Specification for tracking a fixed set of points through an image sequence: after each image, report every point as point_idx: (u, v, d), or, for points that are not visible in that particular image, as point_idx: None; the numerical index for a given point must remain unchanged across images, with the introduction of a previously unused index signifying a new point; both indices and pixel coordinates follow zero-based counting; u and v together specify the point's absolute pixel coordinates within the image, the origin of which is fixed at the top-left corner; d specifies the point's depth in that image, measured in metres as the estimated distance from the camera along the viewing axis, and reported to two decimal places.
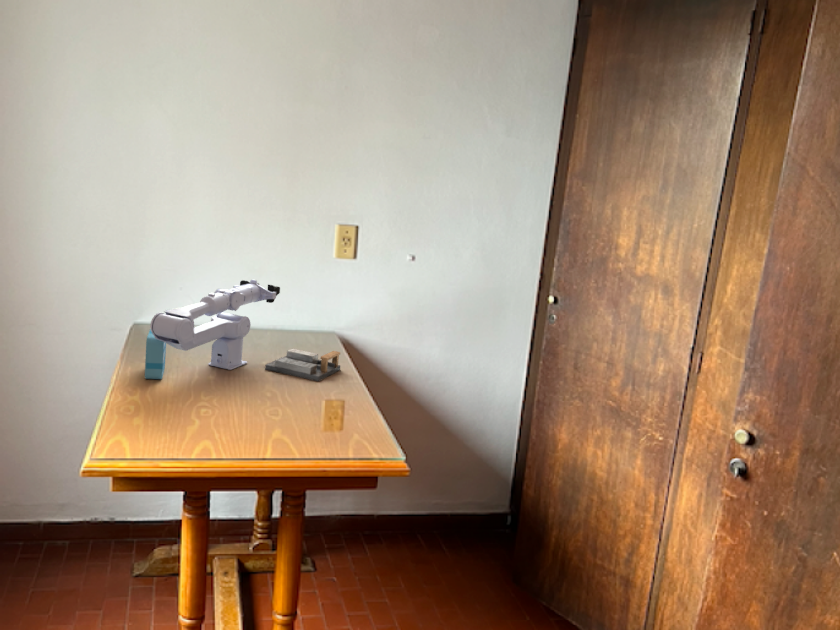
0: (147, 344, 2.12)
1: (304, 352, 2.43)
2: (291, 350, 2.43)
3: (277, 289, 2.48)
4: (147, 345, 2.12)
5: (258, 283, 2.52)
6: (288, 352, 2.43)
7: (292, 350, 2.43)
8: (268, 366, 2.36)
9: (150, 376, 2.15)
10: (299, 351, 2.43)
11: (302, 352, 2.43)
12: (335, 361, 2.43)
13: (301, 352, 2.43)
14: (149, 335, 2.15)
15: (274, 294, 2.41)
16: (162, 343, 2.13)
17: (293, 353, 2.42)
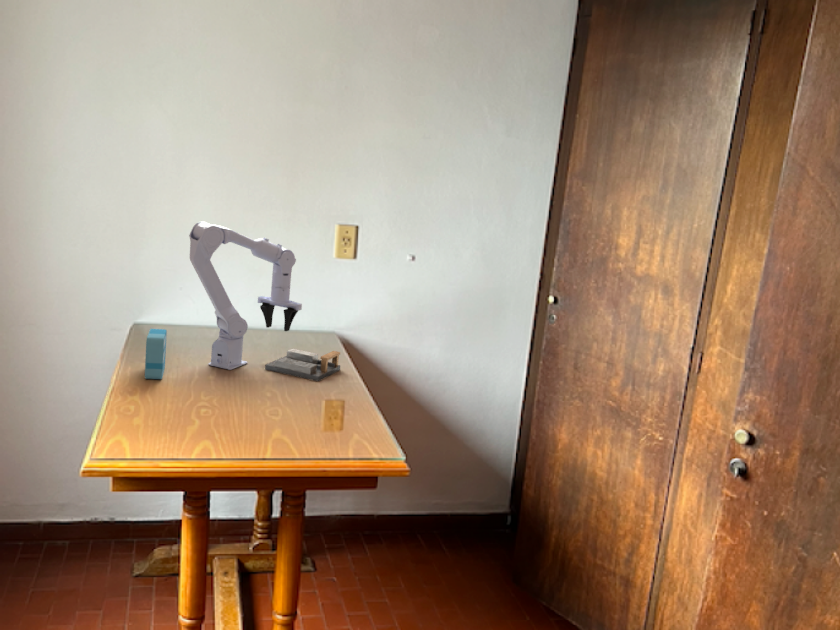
0: (147, 344, 2.12)
1: (304, 352, 2.43)
2: (291, 350, 2.43)
3: (289, 325, 2.44)
4: (147, 345, 2.12)
5: (271, 324, 2.47)
6: (288, 352, 2.43)
7: (292, 350, 2.43)
8: (268, 366, 2.36)
9: (150, 376, 2.15)
10: (299, 351, 2.43)
11: (302, 352, 2.43)
12: (335, 361, 2.43)
13: (301, 352, 2.43)
14: (149, 335, 2.15)
15: (300, 306, 2.41)
16: (162, 343, 2.13)
17: (293, 353, 2.42)
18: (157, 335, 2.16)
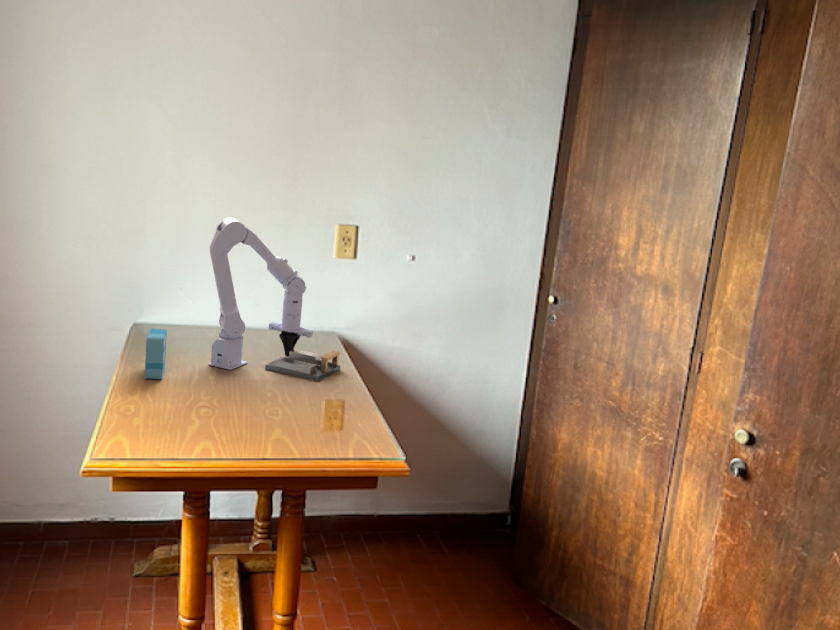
0: (147, 344, 2.12)
1: (307, 353, 2.43)
2: (294, 351, 2.43)
3: None
4: (147, 345, 2.12)
5: None
6: (291, 353, 2.42)
7: (295, 351, 2.43)
8: (268, 366, 2.36)
9: (150, 376, 2.15)
10: (302, 352, 2.43)
11: (305, 353, 2.42)
12: (335, 361, 2.43)
13: (304, 353, 2.42)
14: (149, 335, 2.15)
15: (311, 334, 2.41)
16: (162, 343, 2.13)
17: (296, 353, 2.42)
18: (157, 335, 2.16)
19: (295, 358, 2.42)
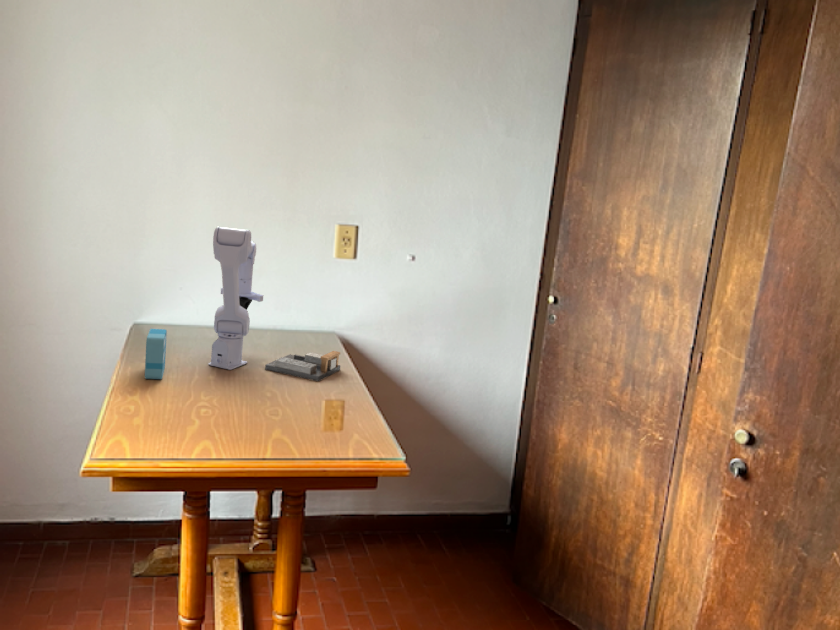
0: (147, 344, 2.12)
1: None
2: (309, 354, 2.42)
3: None
4: (147, 345, 2.12)
5: None
6: (306, 356, 2.41)
7: (310, 354, 2.41)
8: (268, 366, 2.36)
9: (150, 376, 2.15)
10: (317, 355, 2.41)
11: (320, 356, 2.41)
12: None
13: (319, 356, 2.41)
14: (149, 335, 2.15)
15: (262, 298, 2.47)
16: (162, 343, 2.13)
17: (311, 357, 2.40)
18: (157, 335, 2.16)
19: (311, 361, 2.40)
